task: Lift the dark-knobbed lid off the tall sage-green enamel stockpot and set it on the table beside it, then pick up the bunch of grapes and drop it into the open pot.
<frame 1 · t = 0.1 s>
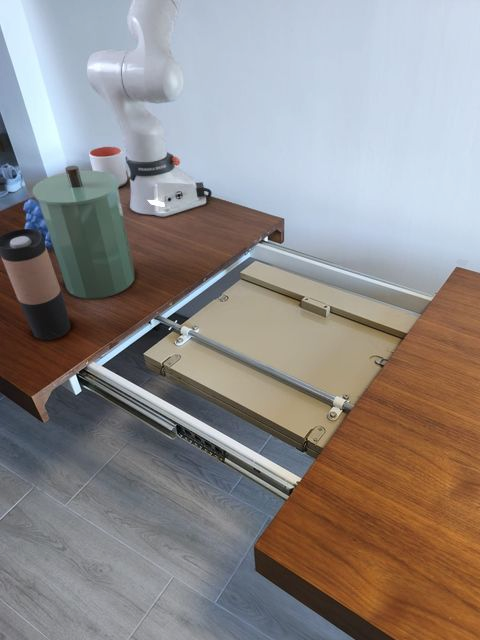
lid: (77, 188, 95), point 21 cm above the table, touching pot
pot: (100, 279, 109), on the table
cup: (112, 184, 152), on the table
travel mug: (52, 329, 95), on the table
grapes: (44, 247, 120), on the table
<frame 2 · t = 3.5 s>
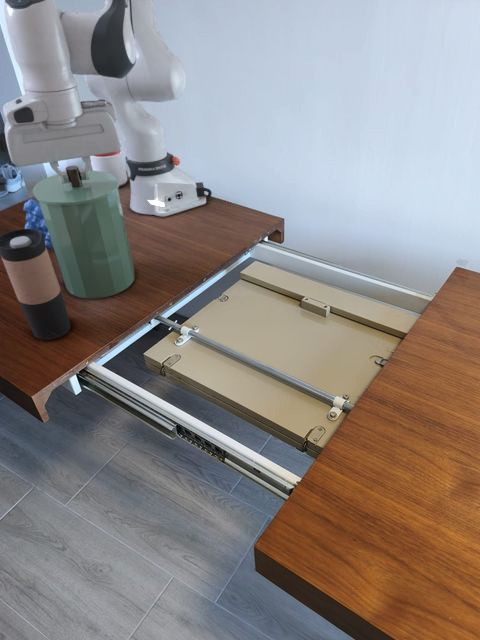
hand: (75, 180, 94), 23 cm above the table, tool pointing down, fingers closed on lid, 2 cm apart
lid: (77, 188, 95), point 22 cm above the table, touching gripper, pot
everything else where it was.
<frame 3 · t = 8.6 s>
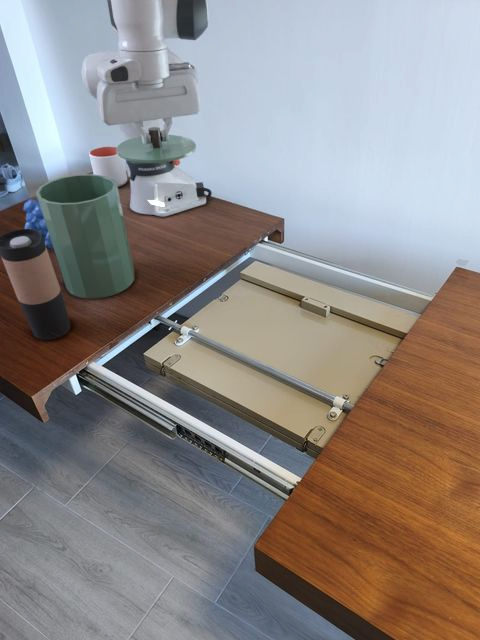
hand: (155, 141, 99), 27 cm above the table, tool pointing down, fingers closed on lid, 2 cm apart
lid: (156, 149, 100), point 26 cm above the table, touching gripper
everything else where it was.
when the fingers open (2 cm above the table, at t = 14.1 s): lid stays where it is, point 1 cm above the table.
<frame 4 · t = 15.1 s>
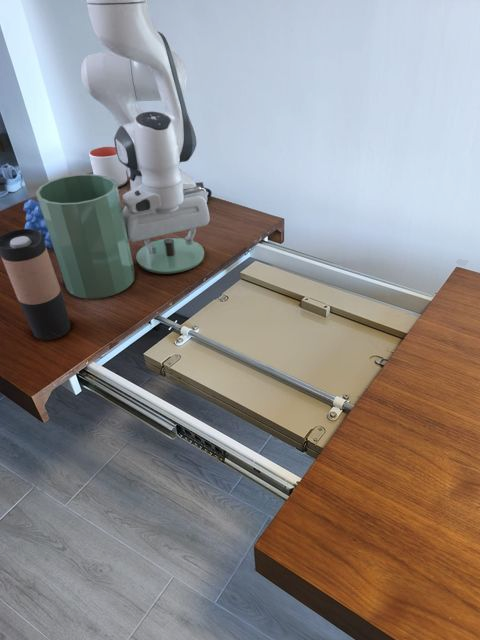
hand: (171, 248, 115), 2 cm above the table, tool pointing down, fingers open, 8 cm apart
lid: (170, 256, 116), point 1 cm above the table
everything else where it was.
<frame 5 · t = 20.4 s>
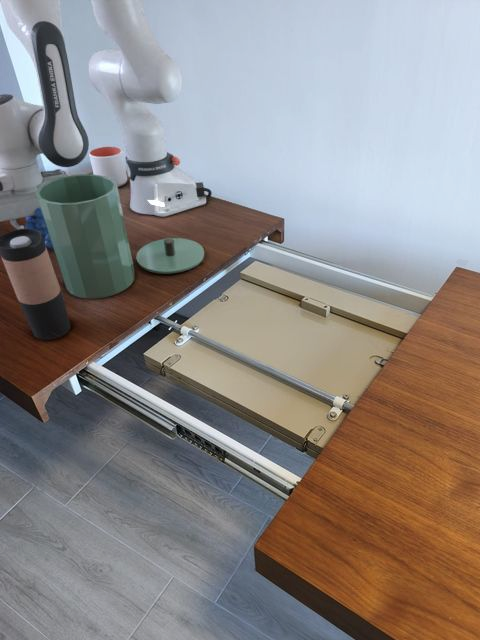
hand: (39, 230, 117), 5 cm above the table, tool pointing down, fingers closed on grapes, 6 cm apart
grapes: (44, 247, 120), on the table, touching gripper
everything else where it was.
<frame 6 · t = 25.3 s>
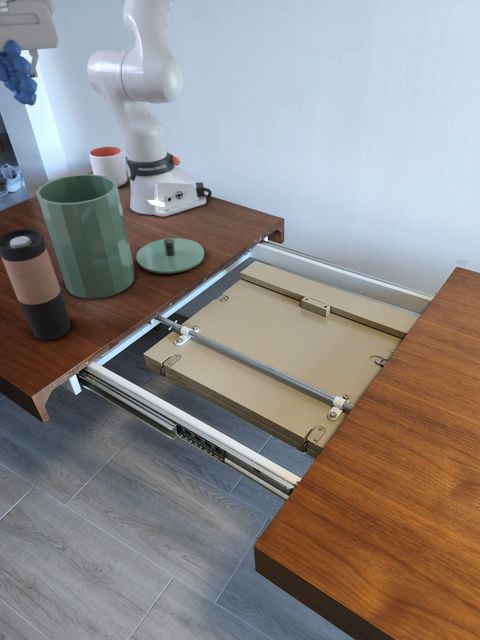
hand: (12, 79, 90), 39 cm above the table, tool pointing down, fingers closed on grapes, 6 cm apart
grapes: (20, 106, 93), point 34 cm above the table, touching gripper
everything else where it was.
when the fingers open (25 cm above the table, at t = 30.3 s): grapes drops 20 cm, resting on pot.
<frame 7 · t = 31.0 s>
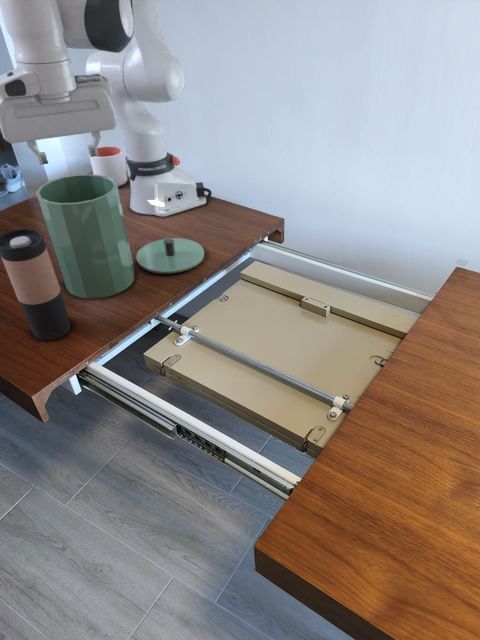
hand: (69, 159, 91), 27 cm above the table, tool pointing down, fingers open, 8 cm apart
grapes: (98, 280, 108), resting on pot
everything else where it was.
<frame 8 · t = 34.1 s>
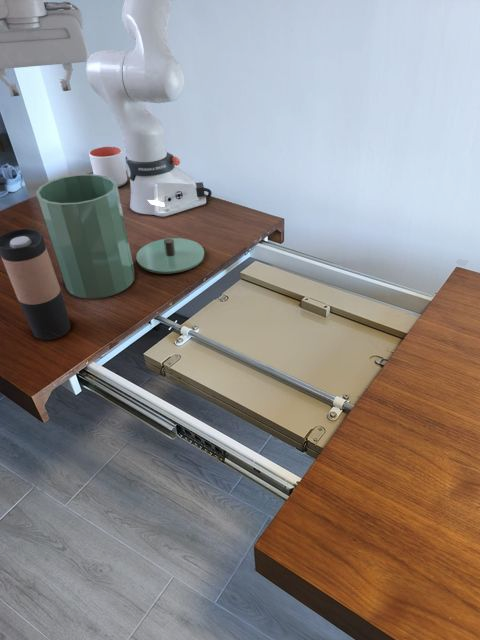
hand: (41, 92, 90), 37 cm above the table, tool pointing down, fingers open, 8 cm apart
nothing on the table moved.
at the end: grapes inside the target area in the pot (1.1 cm from its centre), point 0.5 cm above the pot's base; lid inside the target area on the table beside the pot (0.4 cm from its centre), point 0.6 cm above the table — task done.
